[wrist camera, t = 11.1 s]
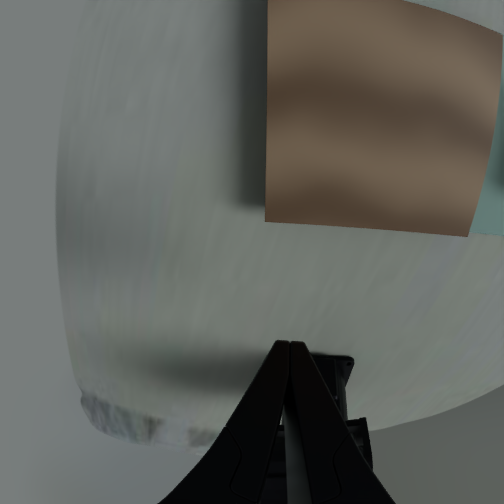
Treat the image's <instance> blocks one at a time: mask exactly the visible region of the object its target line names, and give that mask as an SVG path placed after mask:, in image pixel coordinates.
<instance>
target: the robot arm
mask: <svg viewBox="0 0 504 504" xmlns="http://www.w3.org/2000/svg"><path fill="white" fill-rule="evenodd" d="M353 366H354V359H353V358H352V357H320V356H311V354H310V352H309V350H308V348H307V346H306V344H305V343H304V342H301V341H291V342H289V341H286V340H276V341H275V343H274V344H273V346H272V348H271V350H270V351H269V353H268V355H267V357H266V358H265V360H264V362H263V363H262V365H261V367H260V369H259V370H258V372H257V374H256V375H255V377H254V379H253V381H252V382H251V384H250V386H249V387H248V389H247V391H246V392H245V394H244V396H243V397H242V399H241V401H240V402H239V404H238V406H237V407H236V409H235V410H234V412H233V414H232V415H231V417H230V419H229V420H228V422H227V423H226V425H225V426H226V427H224V428H223V429H222V431H221V433H220V434H219V436H218V437H217V439H216V440H215V442H214V443H213V444H212V446H211V447H210V449H209V450H208V451H207V453H206V454H205V455H204V456H203V458H202V459H201V460H200V461H199V462H198V463H197V465H196V466H195V467H194V468H193V469H192V470H191V471H190V472H189V473H188V474H187V476H186V477H185V478H184V479H183V480H182V481H181V482H180V483H179V484H178V485H177V486H176V487H175V488H174V489H173V491H171V492H170V493H169V494H168V495H167V496H166V497H165V498H164V499H163V500H162V501H160V502H159V503H158V504H396V503H395V502H394V501H393V499H392V498H391V497H390V495H389V494H388V492H387V491H386V489H385V488H384V487H383V485H382V484H381V482H380V481H379V480H378V478H377V477H376V475H375V474H374V472H373V461H372V452H371V445H370V439H369V433H368V427H367V421H366V417H363V418H359V419H354V420H348V417H347V403H346V391H345V387H346V384H347V382H348V379H349V376H350V374H351V371H352V369H353ZM281 416H282V424H281V425H280V420H281Z"/></svg>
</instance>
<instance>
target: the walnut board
mask: <svg viewBox="0 0 504 504" xmlns="http://www.w3.org/2000/svg"><path fill="white" fill-rule="evenodd" d="M502 52H503V35H502V34H499V33H497V32H495V31H493V30H490V29H488V28H486V27H483V26H481V25H478V24H476V23H473V22H471V21H468V20H465V19H463V18H460V17H457V16H454V15H451V14H448V13H445V12H442V11H439V10H436V9H433V8H429V7H426V6H422V5H419V4H415V3H411V2H407V1H403V0H268V44H267V136H266V193H265V222H278V223H295V224H312V225H327V226H342V227H356V228H370V229H383V230H395V231H407V232H419V233H430V234H441V235H452V236H462V237H468V234H469V231H470V227H471V224H472V221H473V218H474V215H475V211H476V208H477V204H478V201H479V197H480V193H481V190H482V186H483V182H484V178H485V174H486V169H487V165H488V160H489V156H490V151H491V146H492V141H493V135H494V129H495V123H496V116H497V109H498V102H499V93H500V83H501V71H502Z"/></svg>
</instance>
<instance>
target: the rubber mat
mask: <svg viewBox="0 0 504 504" xmlns="http://www.w3.org/2000/svg"><path fill="white" fill-rule="evenodd" d="M499 34H501V33H499ZM502 35H503V34H502ZM469 232H473V233H482V234H491V235H499V236H504V35H503V52H502V71H501V83H500V93H499V102H498V109H497V116H496V123H495V129H494V135H493V141H492V146H491V151H490V156H489V160H488V165H487V169H486V174H485V178H484V182H483V186H482V190H481V193H480V197H479V201H478V204H477V208H476V211H475V215H474V218H473V221H472V224H471V227H470V231H469Z"/></svg>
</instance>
